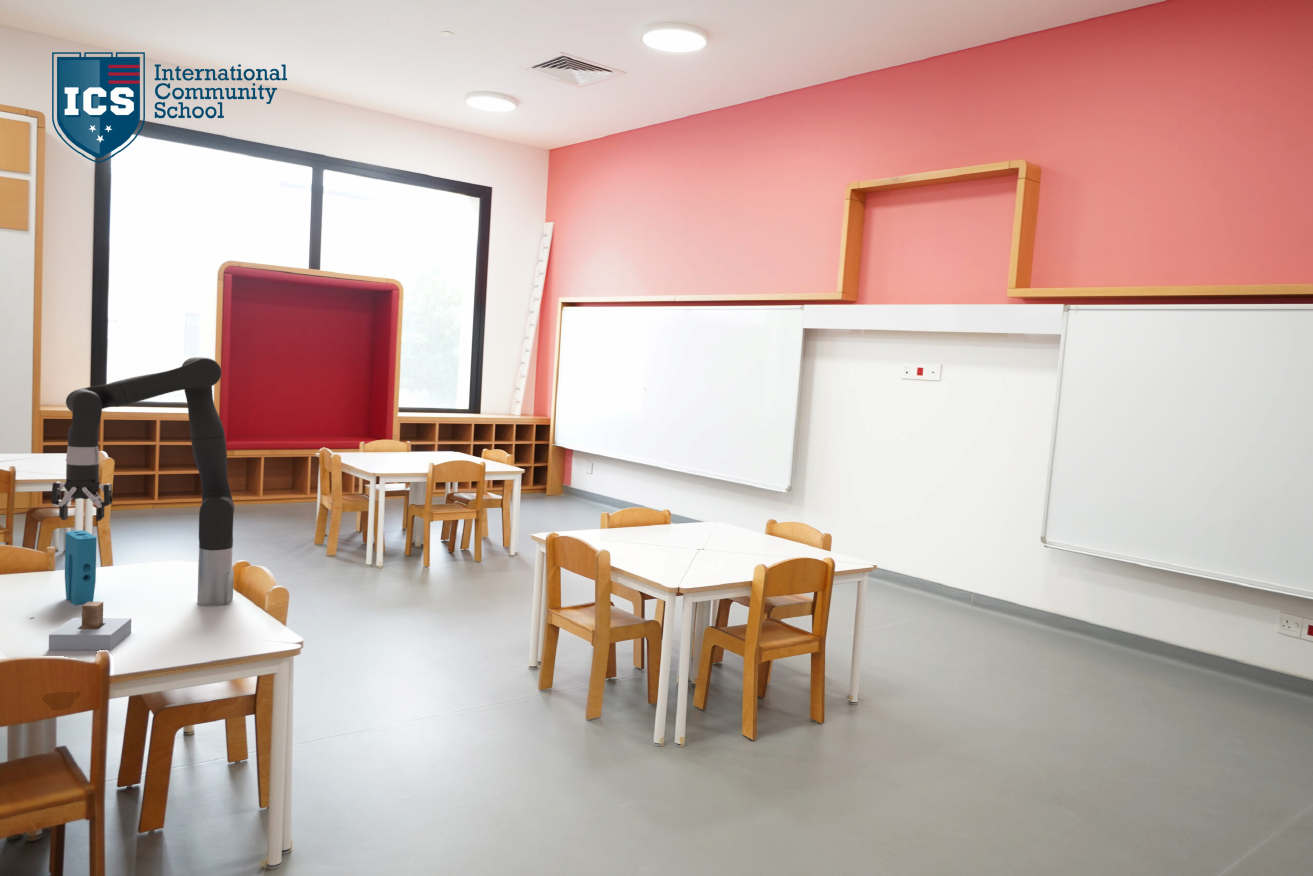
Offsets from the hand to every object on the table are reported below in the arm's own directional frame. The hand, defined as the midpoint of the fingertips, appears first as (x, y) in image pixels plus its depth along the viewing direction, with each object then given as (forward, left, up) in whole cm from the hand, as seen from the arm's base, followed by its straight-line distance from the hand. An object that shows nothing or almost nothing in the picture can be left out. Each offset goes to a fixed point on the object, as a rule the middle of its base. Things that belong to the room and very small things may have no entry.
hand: (81, 520), depth 240 cm
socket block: (-10, +19, -28) cm, 35 cm away
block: (+7, -18, -28) cm, 34 cm away
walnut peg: (-10, +19, -28) cm, 35 cm away
